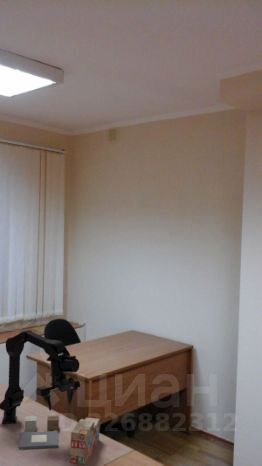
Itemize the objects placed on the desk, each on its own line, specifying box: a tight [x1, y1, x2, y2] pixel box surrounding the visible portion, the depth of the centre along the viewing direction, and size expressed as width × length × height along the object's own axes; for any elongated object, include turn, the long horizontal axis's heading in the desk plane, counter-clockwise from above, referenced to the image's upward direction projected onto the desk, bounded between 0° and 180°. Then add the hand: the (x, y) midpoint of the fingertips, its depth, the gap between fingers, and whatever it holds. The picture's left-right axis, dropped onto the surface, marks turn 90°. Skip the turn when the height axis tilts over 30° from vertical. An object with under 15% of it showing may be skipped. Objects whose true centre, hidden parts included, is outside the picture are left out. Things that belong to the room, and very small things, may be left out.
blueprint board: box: [18, 430, 59, 450], centre depth 185 cm, size 13×16×1 cm
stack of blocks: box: [69, 417, 100, 465], centre depth 179 cm, size 21×6×12 cm, turn 169°
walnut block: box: [46, 414, 60, 431], centre depth 198 cm, size 5×5×5 cm
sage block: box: [24, 415, 37, 432], centre depth 196 cm, size 5×5×5 cm
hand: (60, 407), depth 188 cm, fingers open, 9 cm apart
